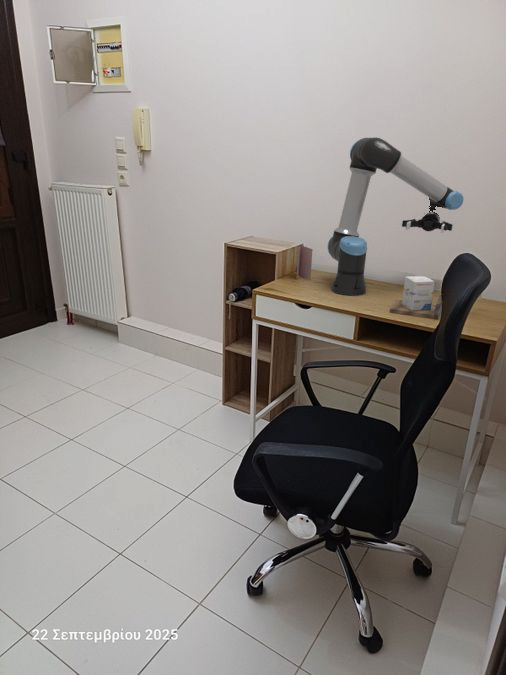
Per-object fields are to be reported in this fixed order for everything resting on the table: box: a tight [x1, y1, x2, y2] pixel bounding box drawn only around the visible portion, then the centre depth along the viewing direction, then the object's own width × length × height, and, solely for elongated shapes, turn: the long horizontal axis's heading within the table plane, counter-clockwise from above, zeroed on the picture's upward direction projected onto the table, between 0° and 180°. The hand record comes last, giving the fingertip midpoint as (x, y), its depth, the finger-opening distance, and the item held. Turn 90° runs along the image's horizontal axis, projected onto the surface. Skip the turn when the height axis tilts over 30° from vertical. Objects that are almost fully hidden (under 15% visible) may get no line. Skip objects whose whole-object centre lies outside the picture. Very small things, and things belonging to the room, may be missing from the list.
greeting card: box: [295, 244, 313, 281], centre depth 236 cm, size 11×7×15 cm, turn 169°
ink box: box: [401, 275, 436, 311], centre depth 190 cm, size 9×8×12 cm
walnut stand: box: [389, 294, 442, 320], centre depth 191 cm, size 18×14×6 cm
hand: (424, 227), depth 199 cm, fingers open, 13 cm apart
